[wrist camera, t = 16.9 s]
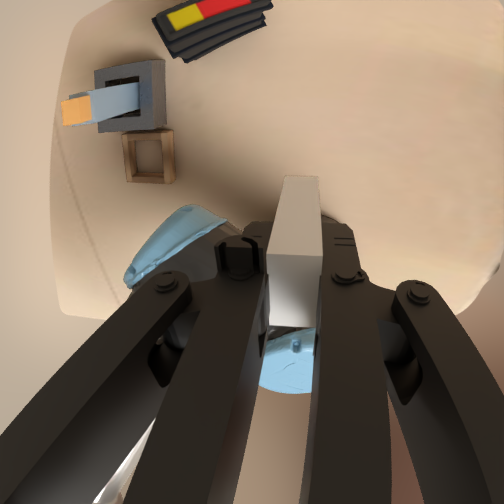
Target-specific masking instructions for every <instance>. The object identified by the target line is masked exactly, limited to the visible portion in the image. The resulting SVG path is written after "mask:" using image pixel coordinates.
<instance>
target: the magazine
mask: <svg viewBox="0 0 504 504" xmlns="http://www.w3.org/2000/svg"><path fill="white" fill-rule="evenodd" d="M273 7H274V6H273V4H272V3H271V0H189V1H186V2H184V3H181V4H179V5H176V6H174V7H172V8H169V9H167V10H165V11H163V12H161V13H158V14H157V15H156V17H154V18H152V22H153V24H154V26H155V28H156V29H157V31H158V33H159V35H160V37H161V38H162V40H163V42H164V44H165V46H166V47H167V49H168V51H169V53H170V54H171V56H172V58H173V59H175V58H177V57H180V58H182V59H183V61H184V63H189V62H191V61H193V60H197V59H199V58H201V57H202V56H204V55H206V54H208V53H210V52H212V51H213V50H215V49H217V48H219V47H221V46H223V45H225V44H227V43H229V42H231V41H233V40H235V39H237V38H239V37H241V36H244V35H246V34H248V33H250V32H252V31H255V30H257V29H259V28H262V27H264V26H266V23H265V21H264V20H265V19H266V18H265V16H264V14H263V13H262V12H263V11H266V10H270V9H272V8H273Z"/></svg>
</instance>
